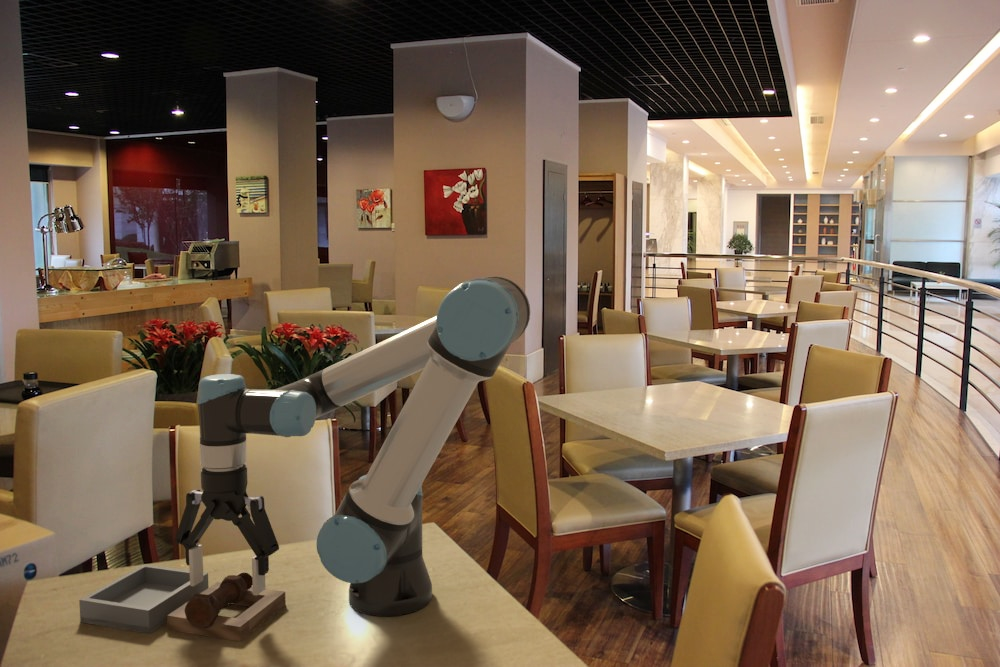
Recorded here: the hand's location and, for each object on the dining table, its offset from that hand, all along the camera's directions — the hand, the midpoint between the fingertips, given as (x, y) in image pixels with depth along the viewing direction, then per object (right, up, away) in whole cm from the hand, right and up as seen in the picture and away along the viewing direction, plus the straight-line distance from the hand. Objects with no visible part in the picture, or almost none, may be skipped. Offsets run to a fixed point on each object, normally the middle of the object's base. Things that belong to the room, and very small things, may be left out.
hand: (227, 587), depth 141 cm
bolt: (0, +2, -2) cm, 2 cm away
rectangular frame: (0, -5, +1) cm, 5 cm away
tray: (-16, -5, +4) cm, 17 cm away
